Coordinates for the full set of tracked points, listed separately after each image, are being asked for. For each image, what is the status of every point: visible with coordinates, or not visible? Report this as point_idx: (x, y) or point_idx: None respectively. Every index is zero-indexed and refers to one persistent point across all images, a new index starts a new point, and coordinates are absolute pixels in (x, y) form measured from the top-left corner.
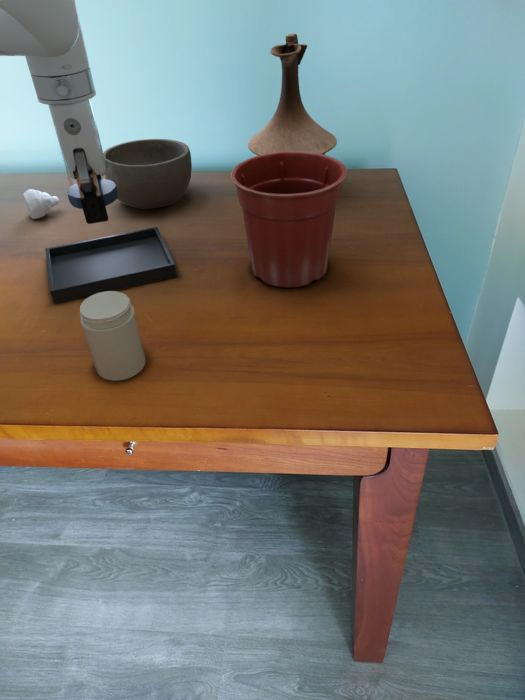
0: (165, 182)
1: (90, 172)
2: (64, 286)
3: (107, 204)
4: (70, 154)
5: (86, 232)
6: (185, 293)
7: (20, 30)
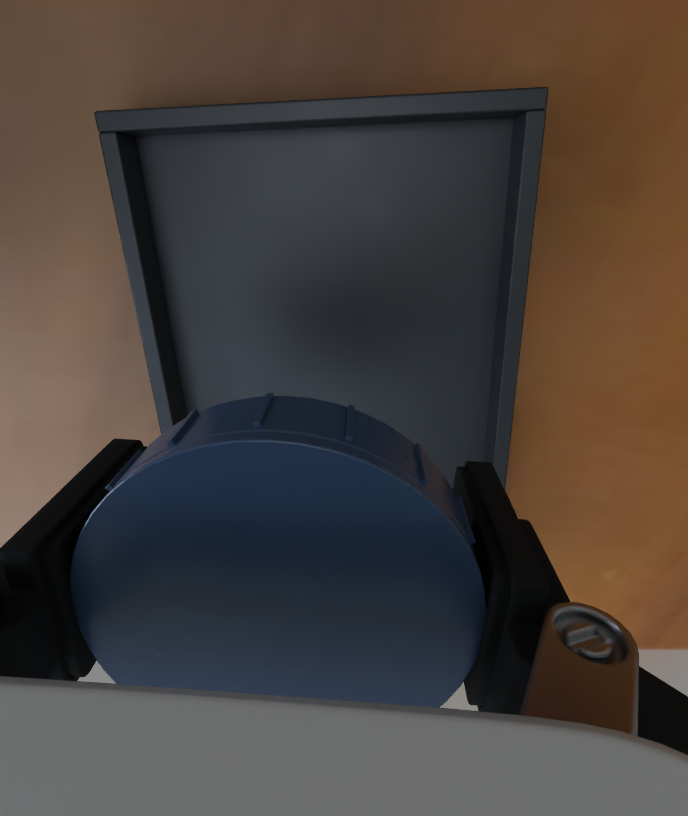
0: None
1: (22, 651)
2: None
3: (452, 491)
4: None
5: (18, 426)
6: (682, 90)
7: None
